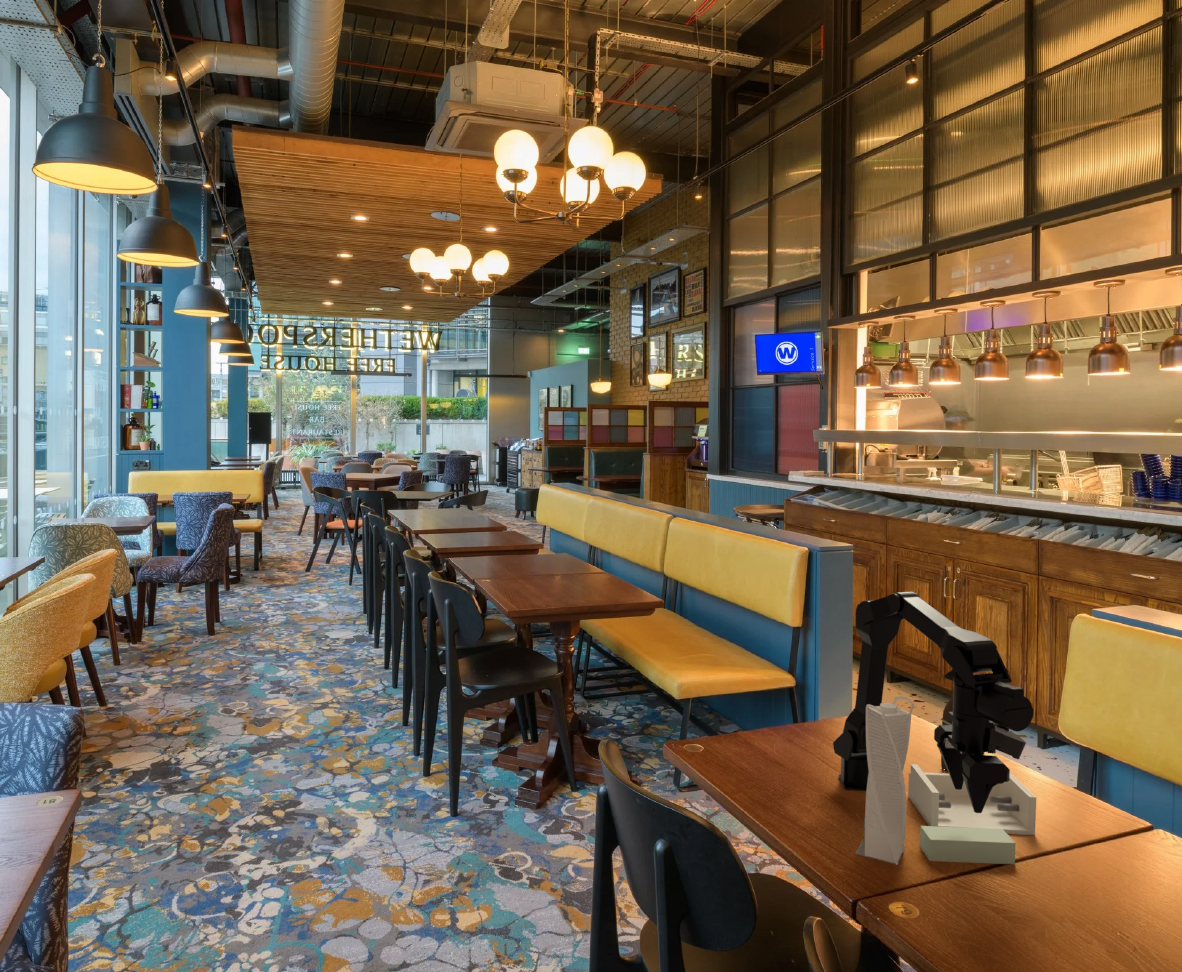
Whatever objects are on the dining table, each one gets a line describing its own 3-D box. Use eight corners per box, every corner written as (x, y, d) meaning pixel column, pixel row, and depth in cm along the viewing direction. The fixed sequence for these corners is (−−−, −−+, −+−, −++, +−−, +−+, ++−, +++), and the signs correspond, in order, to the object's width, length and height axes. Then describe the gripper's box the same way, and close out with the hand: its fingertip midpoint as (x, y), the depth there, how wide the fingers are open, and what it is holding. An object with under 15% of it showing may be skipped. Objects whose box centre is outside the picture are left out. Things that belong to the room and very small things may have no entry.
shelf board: (929, 862, 138) (930, 839, 138) (919, 847, 143) (920, 825, 143) (1014, 866, 137) (1015, 842, 137) (1001, 851, 142) (1002, 828, 142)
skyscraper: (914, 851, 142) (918, 693, 141) (905, 872, 135) (910, 706, 134) (864, 839, 146) (868, 685, 145) (853, 858, 139) (858, 697, 138)
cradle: (931, 829, 149) (932, 792, 149) (908, 796, 164) (909, 761, 163) (1035, 835, 148) (1036, 797, 147) (1002, 800, 162) (1003, 766, 162)
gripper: (1045, 732, 129) (1041, 828, 130) (998, 696, 148) (994, 780, 148) (972, 729, 130) (969, 824, 131) (934, 693, 149) (931, 777, 149)
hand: (967, 800), depth 140 cm, fingers open, 9 cm apart
